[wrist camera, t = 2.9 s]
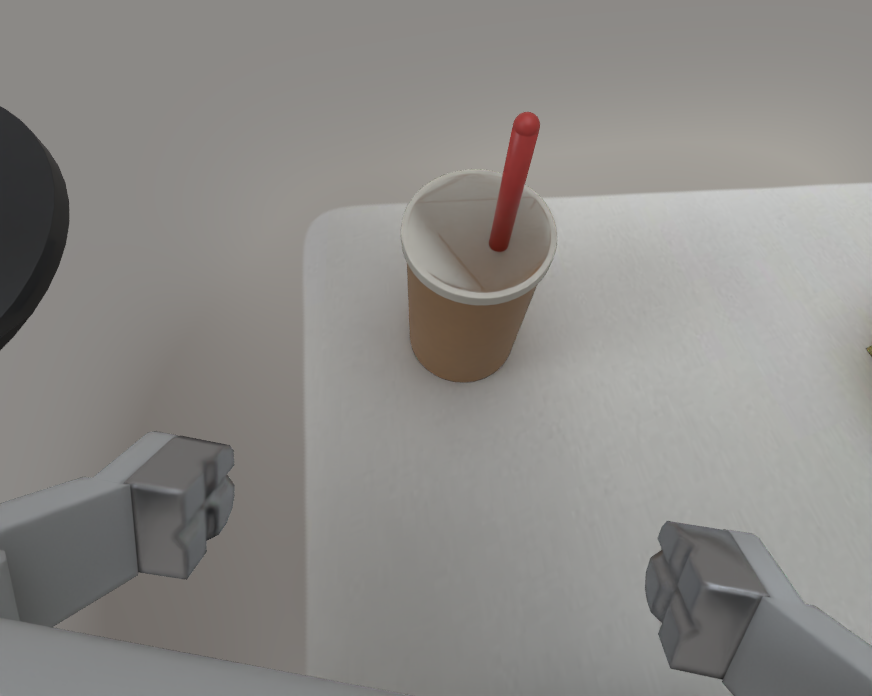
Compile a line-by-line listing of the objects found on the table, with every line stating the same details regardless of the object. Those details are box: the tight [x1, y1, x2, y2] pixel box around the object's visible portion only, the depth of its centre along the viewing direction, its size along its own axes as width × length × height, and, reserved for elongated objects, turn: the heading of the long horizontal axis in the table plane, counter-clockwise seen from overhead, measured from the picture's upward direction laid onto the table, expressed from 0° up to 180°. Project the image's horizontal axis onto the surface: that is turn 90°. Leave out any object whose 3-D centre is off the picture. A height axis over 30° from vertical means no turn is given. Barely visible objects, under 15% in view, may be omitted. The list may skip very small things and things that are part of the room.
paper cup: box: [401, 112, 557, 382], centre depth 23 cm, size 6×6×16 cm
